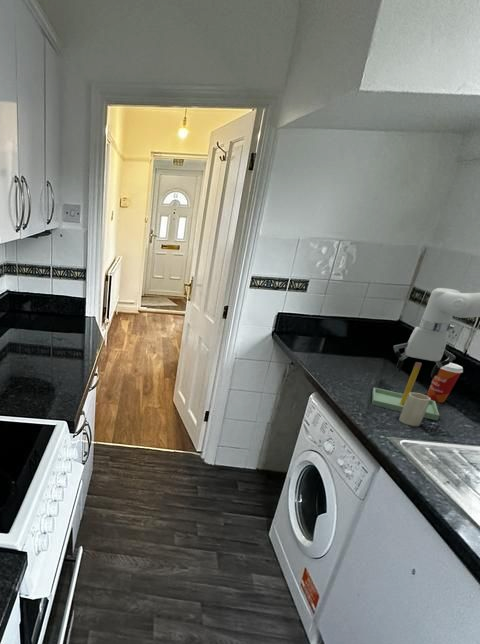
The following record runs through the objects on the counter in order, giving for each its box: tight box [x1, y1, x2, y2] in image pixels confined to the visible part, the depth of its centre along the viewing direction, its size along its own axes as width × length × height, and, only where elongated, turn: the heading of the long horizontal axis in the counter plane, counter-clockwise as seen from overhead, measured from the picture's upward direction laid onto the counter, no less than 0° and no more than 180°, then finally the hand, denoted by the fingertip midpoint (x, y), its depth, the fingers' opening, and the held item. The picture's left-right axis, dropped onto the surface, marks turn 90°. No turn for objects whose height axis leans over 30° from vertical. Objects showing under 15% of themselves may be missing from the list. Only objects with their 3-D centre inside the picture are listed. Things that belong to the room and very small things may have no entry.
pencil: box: [400, 361, 423, 405], centre depth 146 cm, size 2×2×16 cm
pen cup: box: [398, 391, 431, 427], centre depth 135 cm, size 6×6×10 cm
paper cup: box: [426, 362, 464, 403], centre depth 153 cm, size 8×8×14 cm
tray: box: [371, 387, 441, 422], centre depth 149 cm, size 19×14×2 cm
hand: (415, 373), depth 145 cm, fingers open, 9 cm apart
